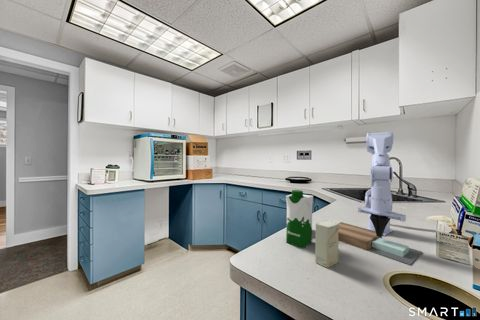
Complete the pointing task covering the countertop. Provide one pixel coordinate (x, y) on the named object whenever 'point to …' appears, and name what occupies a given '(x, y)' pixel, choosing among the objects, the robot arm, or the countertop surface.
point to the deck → (356, 236)
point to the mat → (407, 259)
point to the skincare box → (326, 243)
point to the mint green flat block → (390, 247)
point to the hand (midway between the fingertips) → (379, 235)
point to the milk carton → (299, 219)
